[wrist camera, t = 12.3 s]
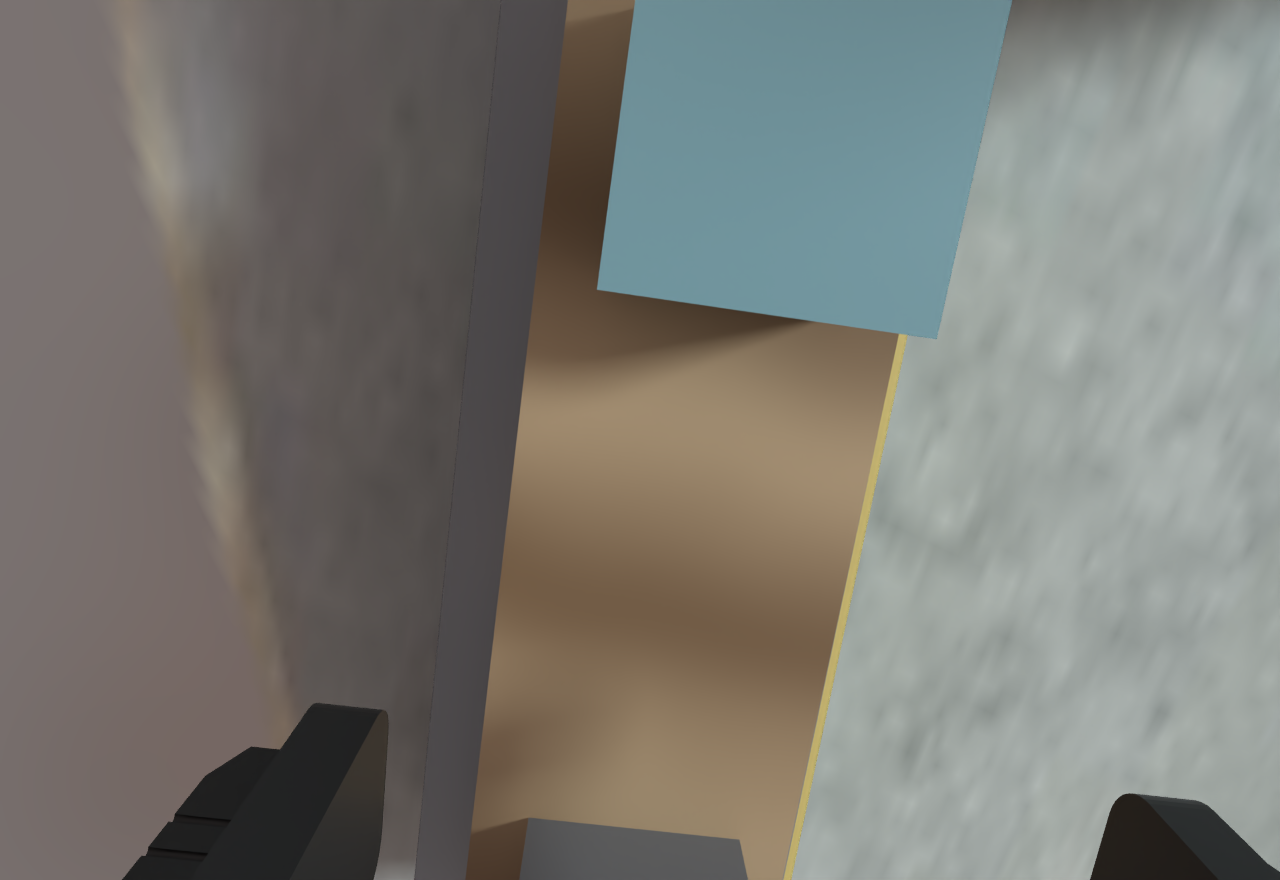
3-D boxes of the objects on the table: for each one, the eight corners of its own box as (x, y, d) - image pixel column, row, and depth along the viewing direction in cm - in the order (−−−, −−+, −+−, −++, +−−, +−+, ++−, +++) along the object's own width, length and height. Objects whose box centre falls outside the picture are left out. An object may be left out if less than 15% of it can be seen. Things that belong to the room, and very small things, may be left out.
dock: (902, 44, 21) (987, -15, 16) (746, 831, 26) (777, 965, 21) (534, -16, 21) (510, -97, 16) (448, 799, 26) (409, 929, 21)
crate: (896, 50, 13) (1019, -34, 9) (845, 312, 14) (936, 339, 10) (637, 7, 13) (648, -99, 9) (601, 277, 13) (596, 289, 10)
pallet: (589, -30, 16) (581, -117, 12) (893, 22, 16) (980, -48, 13) (477, 898, 21) (445, 1049, 17) (717, 922, 21) (740, 1076, 17)
